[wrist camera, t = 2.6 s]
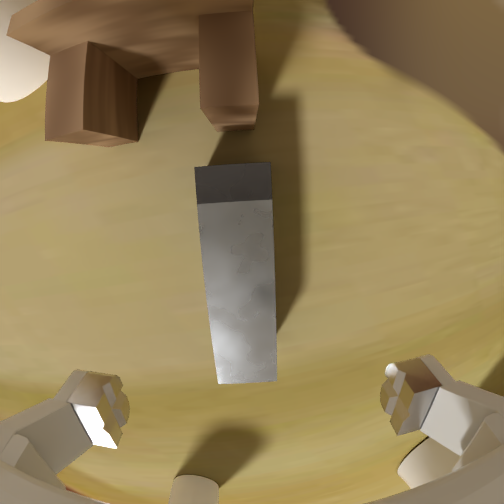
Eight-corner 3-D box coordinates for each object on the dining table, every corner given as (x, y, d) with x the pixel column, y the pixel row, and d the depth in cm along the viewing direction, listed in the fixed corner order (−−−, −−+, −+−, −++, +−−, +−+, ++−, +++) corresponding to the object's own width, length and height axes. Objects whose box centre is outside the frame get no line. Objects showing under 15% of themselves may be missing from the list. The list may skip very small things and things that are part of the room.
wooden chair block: (249, 50, 18) (253, -56, 6) (253, 129, 19) (265, 75, 8) (108, 72, 17) (11, 15, 6) (108, 147, 19) (-7, 137, 8)
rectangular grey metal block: (264, 164, 20) (270, 162, 15) (271, 342, 24) (276, 380, 19) (206, 167, 20) (194, 167, 15) (222, 345, 24) (218, 383, 19)
